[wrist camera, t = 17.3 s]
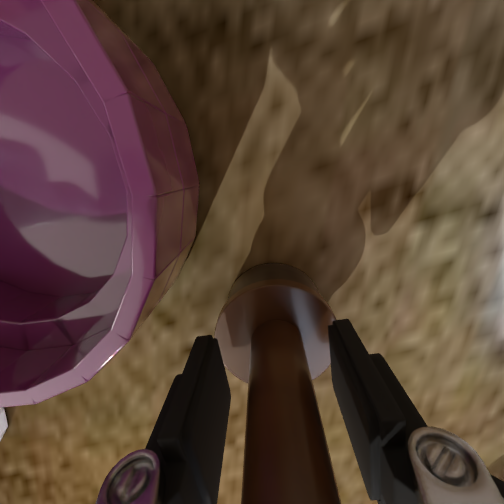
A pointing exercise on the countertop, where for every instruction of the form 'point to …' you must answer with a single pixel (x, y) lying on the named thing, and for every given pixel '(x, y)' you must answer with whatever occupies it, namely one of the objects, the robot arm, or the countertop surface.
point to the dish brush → (280, 383)
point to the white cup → (3, 422)
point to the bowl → (83, 194)
